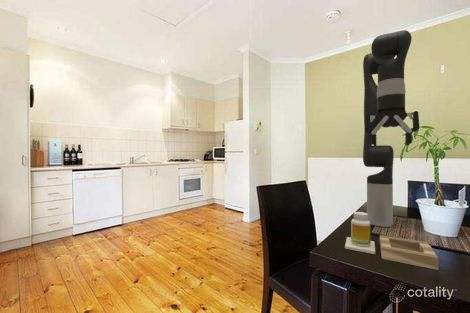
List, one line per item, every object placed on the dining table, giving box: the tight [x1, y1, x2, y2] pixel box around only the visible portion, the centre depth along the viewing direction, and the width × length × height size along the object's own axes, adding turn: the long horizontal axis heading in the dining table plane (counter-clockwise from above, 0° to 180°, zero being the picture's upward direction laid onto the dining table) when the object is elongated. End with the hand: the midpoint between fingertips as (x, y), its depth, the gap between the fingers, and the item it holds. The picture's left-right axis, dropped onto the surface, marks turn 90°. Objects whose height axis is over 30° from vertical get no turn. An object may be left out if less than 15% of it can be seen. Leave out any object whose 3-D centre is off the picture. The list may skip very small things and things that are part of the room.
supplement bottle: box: [350, 211, 371, 246], centre depth 71 cm, size 5×5×10 cm
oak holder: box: [379, 234, 439, 271], centre depth 65 cm, size 12×12×3 cm
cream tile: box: [344, 236, 376, 255], centre depth 71 cm, size 9×8×1 cm
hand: (390, 145), depth 72 cm, fingers open, 8 cm apart
